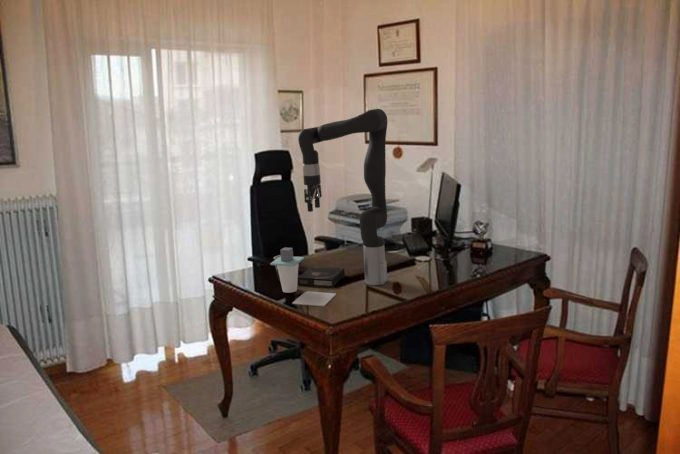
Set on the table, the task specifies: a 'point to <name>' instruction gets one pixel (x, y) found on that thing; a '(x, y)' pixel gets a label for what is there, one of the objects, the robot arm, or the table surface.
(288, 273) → the foam cup
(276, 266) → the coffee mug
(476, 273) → the table surface
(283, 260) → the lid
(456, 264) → the table surface
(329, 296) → the tray
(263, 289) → the table surface
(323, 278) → the portable cd player
